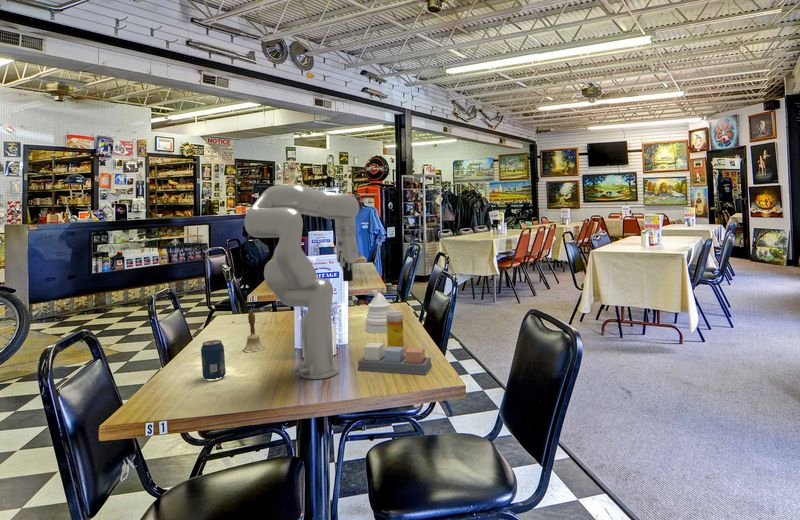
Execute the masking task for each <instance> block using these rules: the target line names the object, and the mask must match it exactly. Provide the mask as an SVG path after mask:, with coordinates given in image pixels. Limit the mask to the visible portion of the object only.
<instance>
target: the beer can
mask: <svg viewBox="0 0 800 520" xmlns="http://www.w3.org/2000/svg"><path fill="white" fill-rule="evenodd" d="M402 312H403V311H402V310H400V309H393V310H392V309H391V310H390V311H388V312H387V315H386V317H387V333H386V339H387V342H386V343H387V348H388V347H389V346H392V347H404V348H405V345H404V343H405V342H404V321H403V320H404V318H403V317H404V316H403V313H402Z"/></svg>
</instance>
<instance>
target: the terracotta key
mask: <svg viewBox="0 0 800 520" xmlns="http://www.w3.org/2000/svg"><path fill="white" fill-rule="evenodd" d="M404 356H405V360H406V363H413V364H422V363H423V362H424V361H425V357H426V349H425V347H414V346H413V347H412V346H409V347H408V349H406V351H405V350H404Z"/></svg>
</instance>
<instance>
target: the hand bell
mask: <svg viewBox="0 0 800 520" xmlns="http://www.w3.org/2000/svg"><path fill="white" fill-rule="evenodd" d="M247 318H248V323H249V326H250V327H249V328H250V330H249V331H250V334H249V335H248V336H247V338H246V339H247V340H246V345H245V346H244V347H243V349H244V350H247V351H255V350H260V349H263V348H264V347H265V346H264V345H263V344H262V343H261V342H262V341H261V340H260V335H258V334H256V329H255V323H256V315H255V312H254V310H253V309H249V311H248V315H247Z"/></svg>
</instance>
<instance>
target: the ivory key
mask: <svg viewBox="0 0 800 520" xmlns="http://www.w3.org/2000/svg"><path fill="white" fill-rule="evenodd" d="M384 351H385V344H384V342H383V343H382V342H379V343H378V342H368V343H367V344H366V345H364V346H363V357H364V360H372V361H380V360H381V359H382V358H383V357H384Z"/></svg>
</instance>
